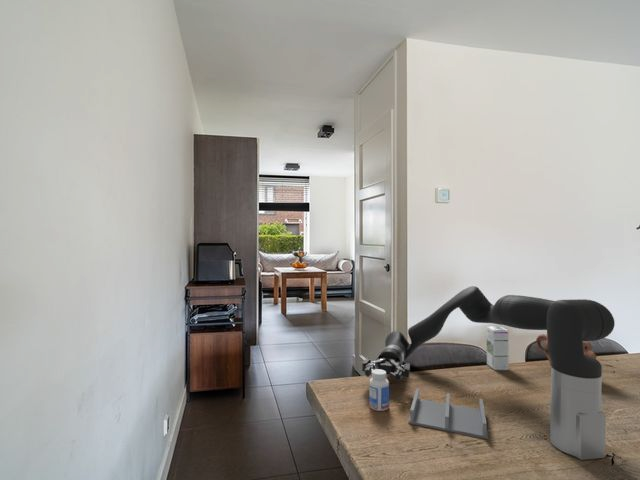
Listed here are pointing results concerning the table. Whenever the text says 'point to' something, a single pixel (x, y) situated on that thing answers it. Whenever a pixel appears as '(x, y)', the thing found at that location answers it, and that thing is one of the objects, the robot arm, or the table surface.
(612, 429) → the table surface
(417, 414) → the dish rack
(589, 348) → the decorative planter
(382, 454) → the table surface
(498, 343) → the syrup box
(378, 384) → the pill bottle
